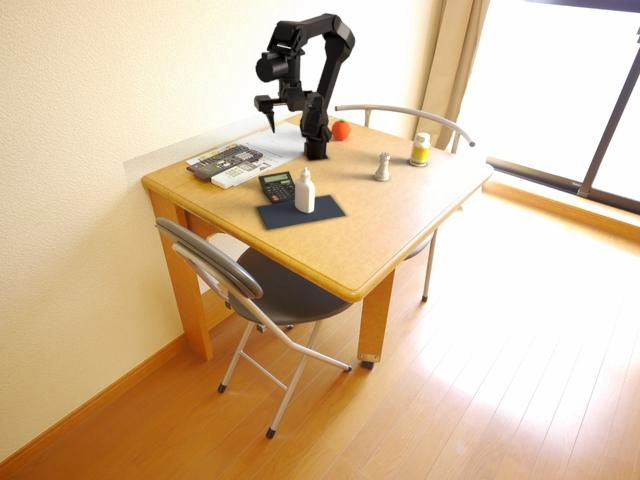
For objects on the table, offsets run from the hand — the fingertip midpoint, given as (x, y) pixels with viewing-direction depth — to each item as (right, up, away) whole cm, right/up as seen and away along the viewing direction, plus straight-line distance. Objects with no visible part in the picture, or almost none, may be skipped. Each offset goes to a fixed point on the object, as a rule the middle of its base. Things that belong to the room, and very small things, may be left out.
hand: (288, 131), depth 117 cm
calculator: (-2, -18, -2) cm, 18 cm away
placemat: (+4, -24, -10) cm, 26 cm away
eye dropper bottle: (+5, -23, -9) cm, 25 cm away
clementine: (+16, +5, +30) cm, 35 cm away
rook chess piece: (+28, -13, +8) cm, 31 cm away
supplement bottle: (+41, -6, +18) cm, 45 cm away
